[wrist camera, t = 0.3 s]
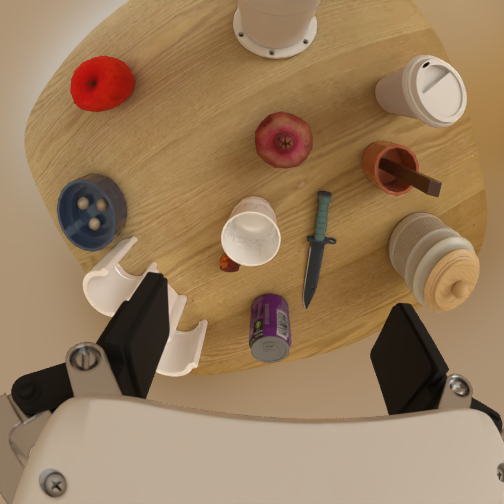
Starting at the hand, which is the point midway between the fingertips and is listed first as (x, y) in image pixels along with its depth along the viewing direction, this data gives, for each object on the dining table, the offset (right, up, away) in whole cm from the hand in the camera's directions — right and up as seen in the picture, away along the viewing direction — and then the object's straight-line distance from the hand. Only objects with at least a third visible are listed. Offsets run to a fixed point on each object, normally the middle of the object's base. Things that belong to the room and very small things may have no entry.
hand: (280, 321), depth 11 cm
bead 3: (-27, +11, +34) cm, 45 cm away
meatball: (-5, +2, +39) cm, 40 cm away
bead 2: (-30, +8, +36) cm, 47 cm away
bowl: (-30, +11, +36) cm, 48 cm away
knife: (+11, +2, +39) cm, 40 cm away
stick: (+20, +17, +30) cm, 40 cm away
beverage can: (+2, -8, +44) cm, 45 cm away
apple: (-23, +30, +26) cm, 46 cm away
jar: (+30, +5, +36) cm, 47 cm away
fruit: (+3, +20, +30) cm, 36 cm away
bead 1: (-32, +12, +34) cm, 48 cm away
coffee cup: (+21, +28, +25) cm, 43 cm away
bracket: (-20, -5, +44) cm, 48 cm away
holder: (+20, +17, +30) cm, 40 cm away
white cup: (-1, +9, +36) cm, 37 cm away
